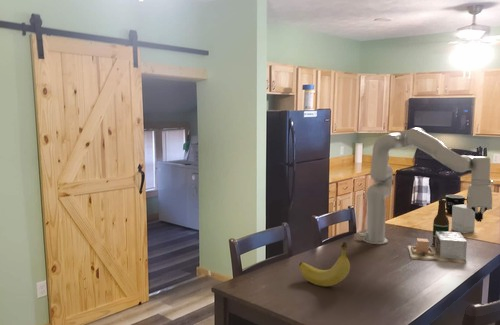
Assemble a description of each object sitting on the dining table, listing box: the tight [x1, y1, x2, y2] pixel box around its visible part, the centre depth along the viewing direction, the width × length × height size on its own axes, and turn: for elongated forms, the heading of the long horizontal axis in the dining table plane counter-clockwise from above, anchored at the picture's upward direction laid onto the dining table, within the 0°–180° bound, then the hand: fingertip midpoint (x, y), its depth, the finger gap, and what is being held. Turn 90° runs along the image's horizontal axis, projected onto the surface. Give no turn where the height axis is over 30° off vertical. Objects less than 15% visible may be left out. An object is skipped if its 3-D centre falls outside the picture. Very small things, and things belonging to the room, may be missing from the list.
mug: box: [439, 194, 467, 214], centre depth 292 cm, size 16×16×12 cm
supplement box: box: [451, 203, 476, 234], centre depth 246 cm, size 9×9×15 cm
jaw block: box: [415, 237, 430, 252], centre depth 205 cm, size 5×5×6 cm
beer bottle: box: [432, 199, 450, 245], centre depth 220 cm, size 8×8×24 cm
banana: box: [298, 241, 351, 287], centre depth 167 cm, size 23×6×20 cm, turn 50°
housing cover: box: [434, 231, 468, 261], centre depth 202 cm, size 11×16×9 cm
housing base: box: [407, 245, 467, 264], centre depth 204 cm, size 24×18×2 cm
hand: (478, 220), depth 197 cm, fingers closed
